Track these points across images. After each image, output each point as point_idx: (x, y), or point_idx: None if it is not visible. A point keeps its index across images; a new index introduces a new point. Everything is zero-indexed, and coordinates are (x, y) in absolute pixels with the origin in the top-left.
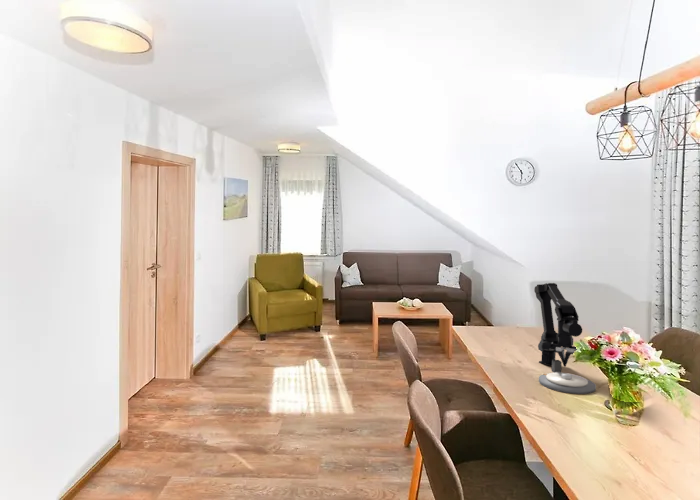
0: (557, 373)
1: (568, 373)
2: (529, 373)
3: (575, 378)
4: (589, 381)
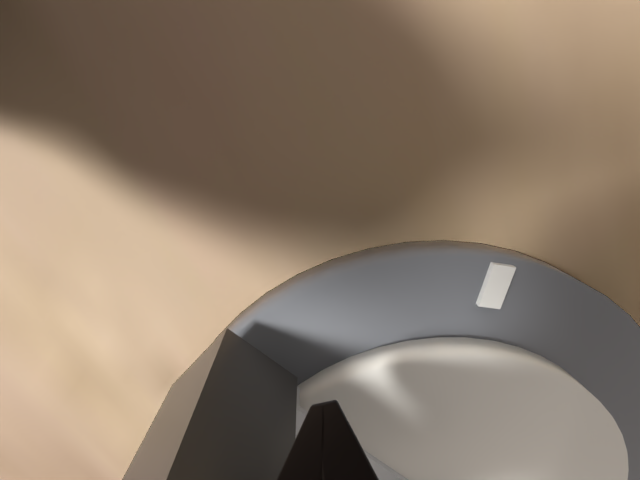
0: None
1: (385, 371)
2: (15, 426)
3: (503, 468)
4: (608, 339)
